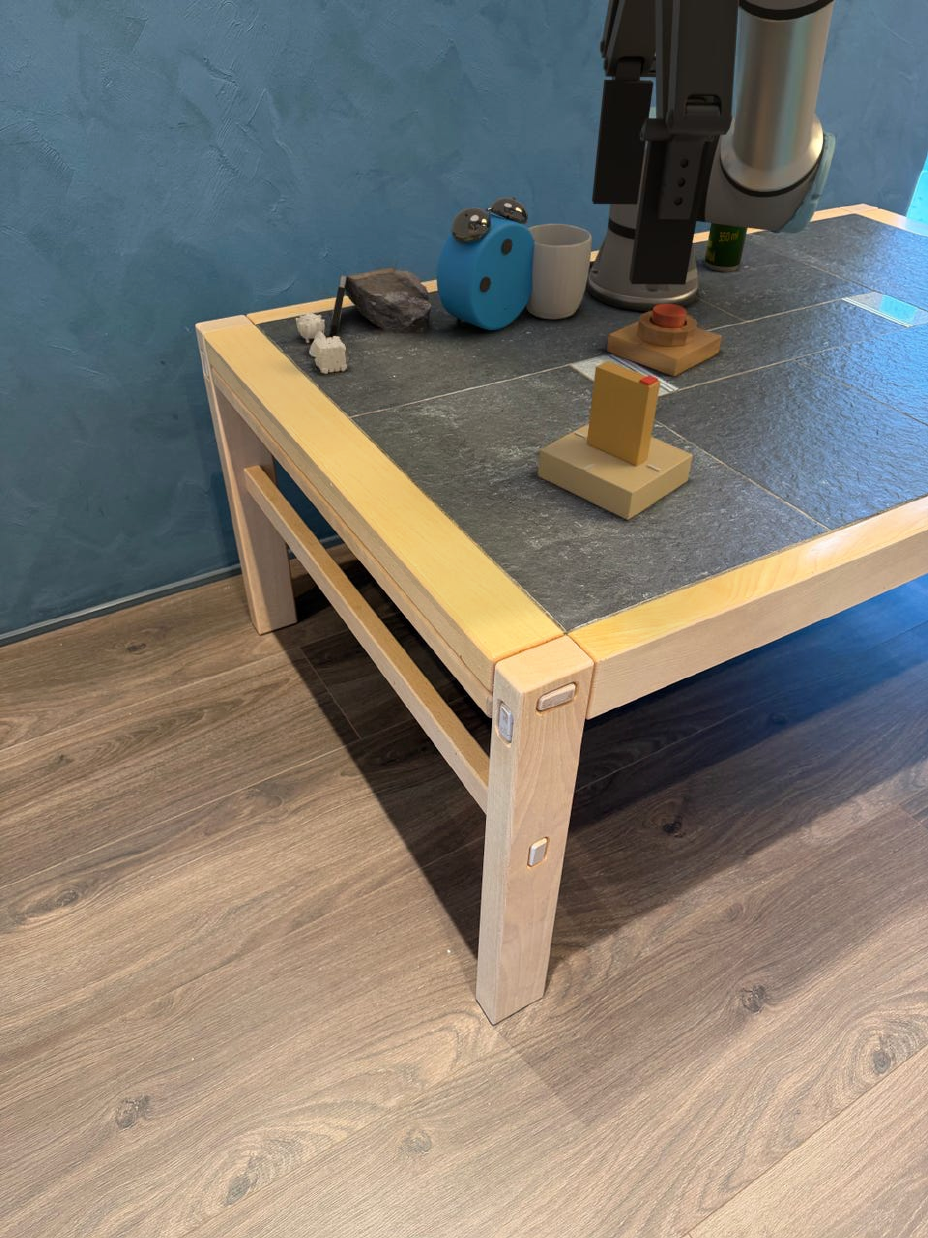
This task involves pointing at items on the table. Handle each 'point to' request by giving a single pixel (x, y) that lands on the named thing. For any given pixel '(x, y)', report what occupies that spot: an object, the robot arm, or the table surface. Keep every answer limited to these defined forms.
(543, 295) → the mug
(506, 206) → the alarm clock
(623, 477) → the panel
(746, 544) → the table surface
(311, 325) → the game pieces
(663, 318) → the button
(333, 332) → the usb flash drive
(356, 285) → the rock
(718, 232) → the beer can
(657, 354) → the button block
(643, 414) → the lock knob
